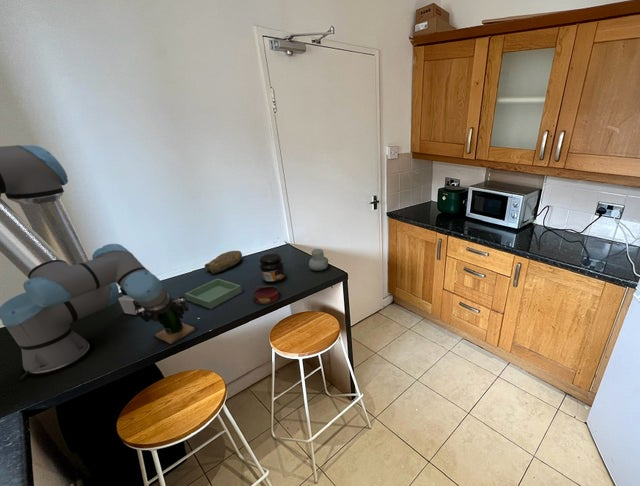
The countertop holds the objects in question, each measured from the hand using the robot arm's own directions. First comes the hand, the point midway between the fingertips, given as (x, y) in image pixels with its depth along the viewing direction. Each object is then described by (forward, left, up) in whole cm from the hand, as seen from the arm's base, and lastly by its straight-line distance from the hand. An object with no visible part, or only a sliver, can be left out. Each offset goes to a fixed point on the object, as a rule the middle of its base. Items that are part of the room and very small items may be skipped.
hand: (171, 317), depth 116 cm
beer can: (-2, -3, -4) cm, 5 cm away
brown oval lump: (+45, +30, -5) cm, 54 cm away
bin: (+22, +8, -5) cm, 24 cm away
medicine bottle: (+1, +26, -5) cm, 26 cm away
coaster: (-2, -3, -5) cm, 6 cm away
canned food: (+31, -14, -5) cm, 35 cm away
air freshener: (+64, -16, -5) cm, 67 cm away
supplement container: (+45, -4, -5) cm, 46 cm away
